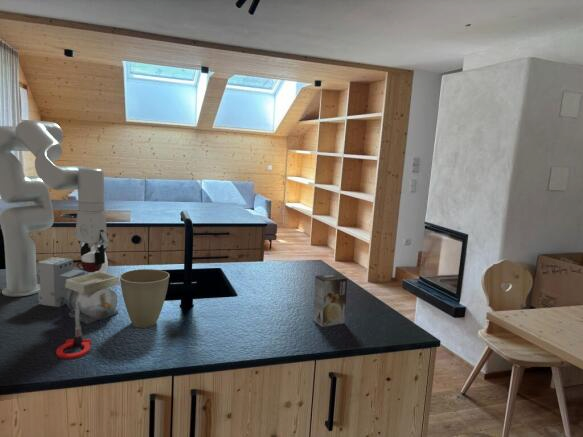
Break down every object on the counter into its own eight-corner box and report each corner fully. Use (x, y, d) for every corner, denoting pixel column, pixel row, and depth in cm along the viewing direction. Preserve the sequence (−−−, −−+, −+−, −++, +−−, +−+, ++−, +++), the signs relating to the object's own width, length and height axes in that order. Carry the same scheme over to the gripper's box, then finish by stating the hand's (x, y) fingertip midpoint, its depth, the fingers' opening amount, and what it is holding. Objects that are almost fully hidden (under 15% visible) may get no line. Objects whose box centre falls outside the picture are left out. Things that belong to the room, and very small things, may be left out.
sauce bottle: (94, 275, 185) (93, 234, 182) (111, 277, 184) (110, 235, 181) (82, 281, 178) (81, 237, 175) (100, 283, 177) (100, 239, 174)
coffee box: (334, 316, 154) (337, 272, 152) (345, 323, 149) (348, 278, 146) (312, 320, 150) (315, 275, 148) (321, 327, 145) (325, 280, 142)
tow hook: (84, 360, 117) (95, 342, 126) (82, 314, 114) (93, 300, 123) (51, 360, 116) (64, 343, 125) (48, 315, 113) (61, 300, 122)
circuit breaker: (75, 309, 149) (73, 266, 146) (38, 304, 152) (36, 262, 149) (89, 301, 156) (88, 261, 154) (54, 297, 159) (52, 257, 156)
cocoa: (77, 275, 138) (73, 238, 136) (79, 269, 144) (76, 233, 142) (109, 272, 141) (106, 236, 139) (110, 266, 147) (108, 231, 144)
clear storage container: (61, 315, 143) (60, 278, 141) (97, 304, 154) (97, 269, 152) (90, 327, 135) (89, 288, 133) (126, 314, 146) (125, 278, 144)
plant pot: (149, 336, 131) (149, 285, 129) (109, 327, 136) (108, 277, 134) (178, 319, 145) (178, 272, 143) (141, 311, 150) (141, 266, 148)
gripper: (64, 205, 140) (66, 259, 143) (97, 211, 131) (98, 269, 134) (86, 203, 147) (87, 255, 150) (119, 209, 138) (120, 264, 141)
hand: (92, 261), depth 142 cm, fingers closed on cocoa, 6 cm apart
